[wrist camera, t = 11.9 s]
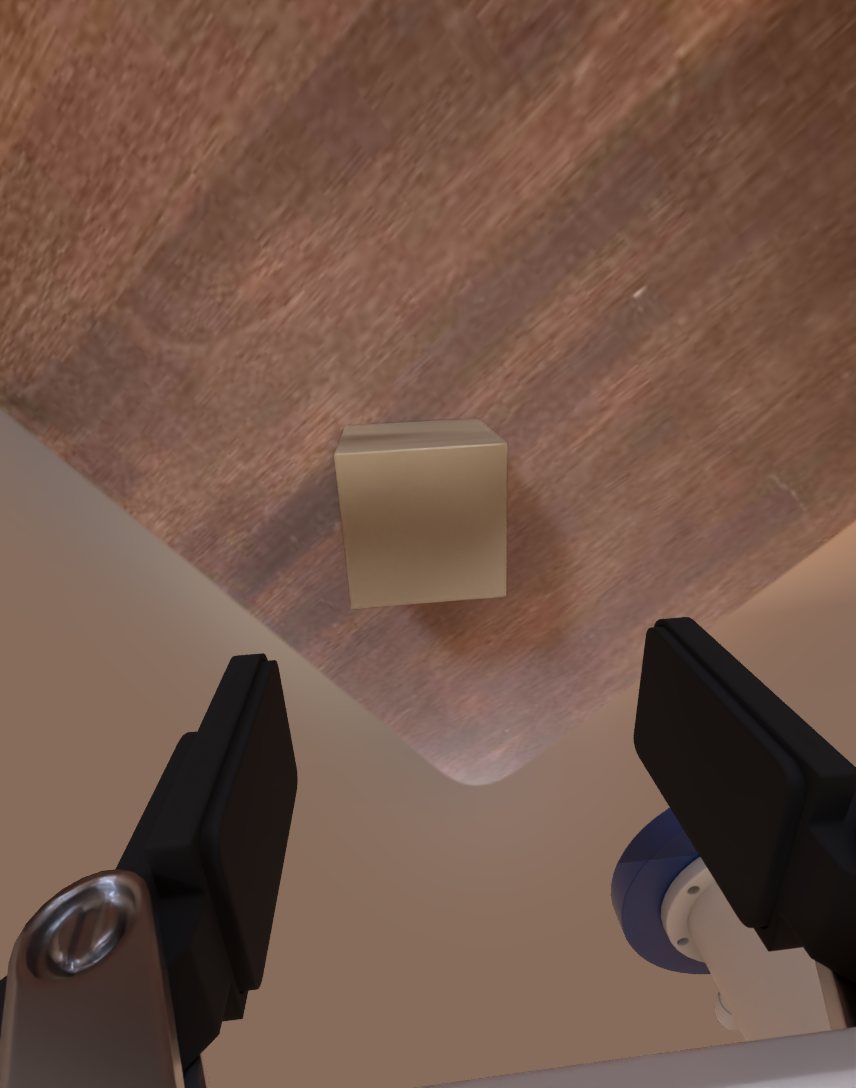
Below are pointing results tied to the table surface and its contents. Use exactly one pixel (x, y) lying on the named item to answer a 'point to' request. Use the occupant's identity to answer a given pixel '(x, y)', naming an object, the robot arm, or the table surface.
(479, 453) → the block
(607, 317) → the table surface
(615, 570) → the table surface
